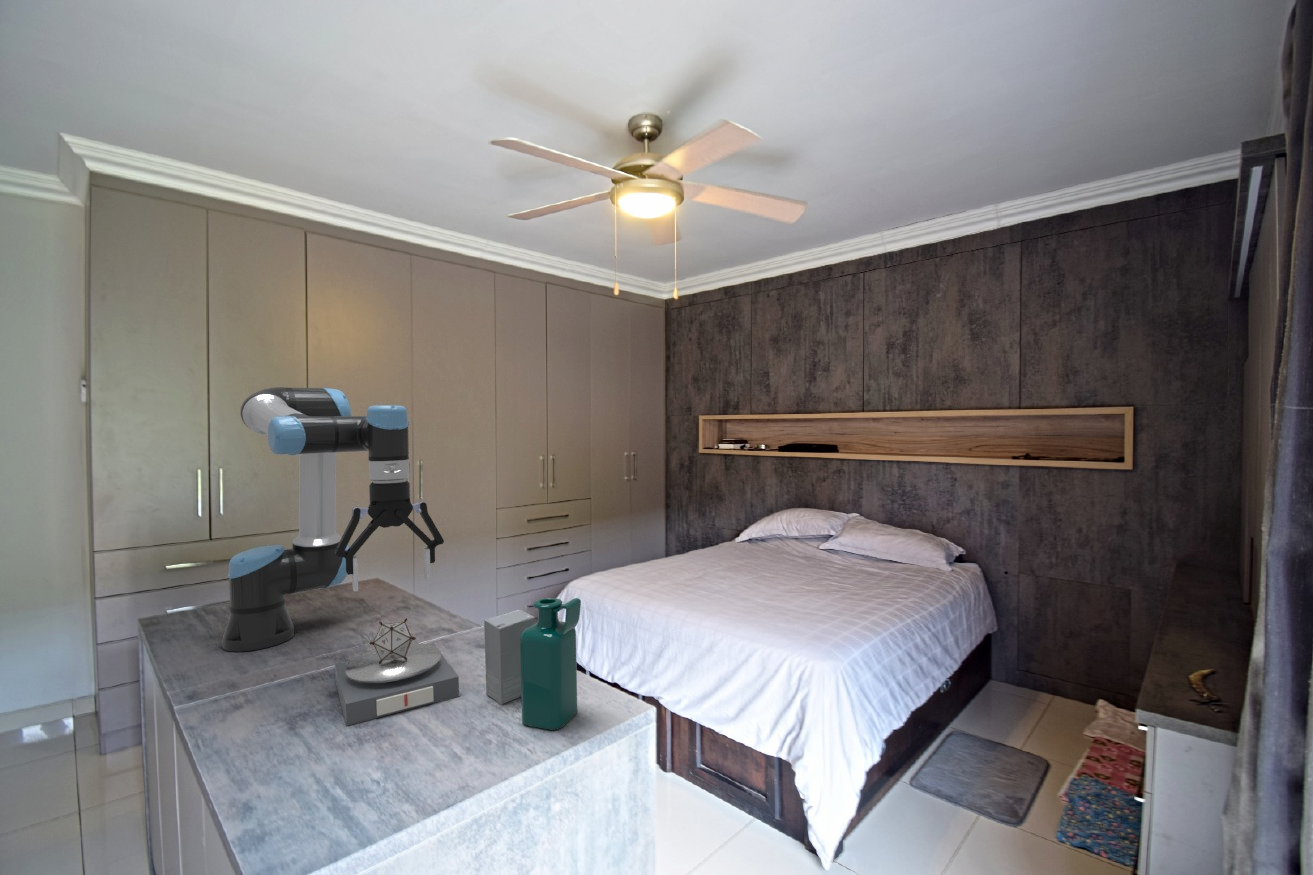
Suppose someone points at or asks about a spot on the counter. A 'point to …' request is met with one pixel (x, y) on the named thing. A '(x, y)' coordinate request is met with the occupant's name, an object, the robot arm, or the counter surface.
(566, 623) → the pitcher
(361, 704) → the scale
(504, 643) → the skincare box
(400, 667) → the pan
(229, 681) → the counter surface
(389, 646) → the game die
